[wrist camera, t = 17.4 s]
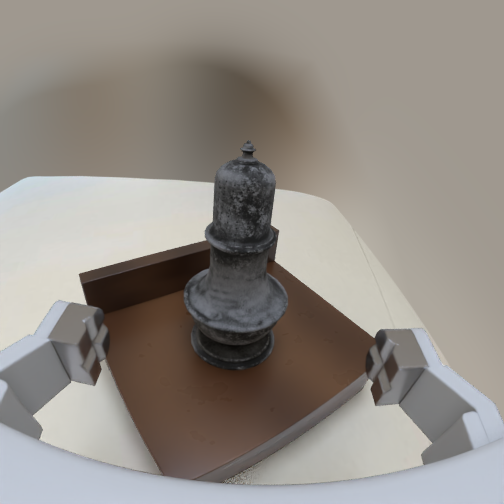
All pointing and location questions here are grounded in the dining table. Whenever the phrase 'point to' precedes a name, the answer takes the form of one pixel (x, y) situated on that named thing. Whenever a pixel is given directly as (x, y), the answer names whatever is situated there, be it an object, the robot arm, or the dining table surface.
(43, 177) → the dining table surface
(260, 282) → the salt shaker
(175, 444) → the shelf
